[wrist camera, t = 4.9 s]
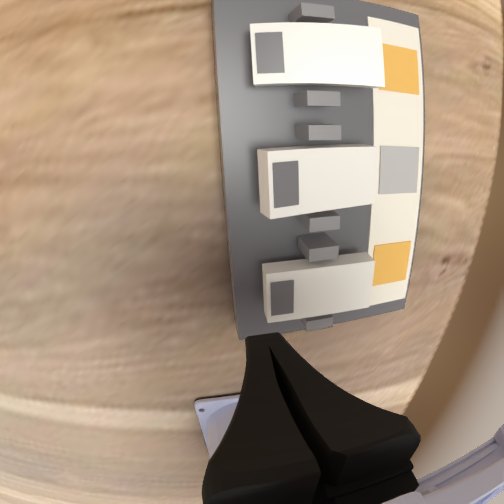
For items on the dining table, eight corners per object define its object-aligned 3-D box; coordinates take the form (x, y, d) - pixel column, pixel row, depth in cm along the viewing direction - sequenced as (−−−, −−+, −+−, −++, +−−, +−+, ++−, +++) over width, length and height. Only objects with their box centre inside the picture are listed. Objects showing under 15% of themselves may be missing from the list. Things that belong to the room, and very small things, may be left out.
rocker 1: (377, 88, 14) (385, 86, 12) (254, 86, 14) (253, 84, 13) (373, 33, 12) (381, 27, 11) (251, 30, 13) (249, 23, 12)
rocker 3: (361, 296, 19) (369, 307, 18) (264, 310, 18) (268, 323, 17) (366, 251, 18) (376, 261, 17) (262, 263, 17) (266, 274, 16)
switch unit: (392, 296, 23) (418, 323, 20) (235, 323, 22) (243, 361, 18) (402, 20, 15) (438, 9, 12) (211, 1, 13) (216, -26, 10)
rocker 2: (361, 197, 17) (376, 203, 16) (260, 212, 15) (270, 219, 14) (363, 143, 16) (378, 146, 15) (257, 149, 14) (268, 151, 13)
